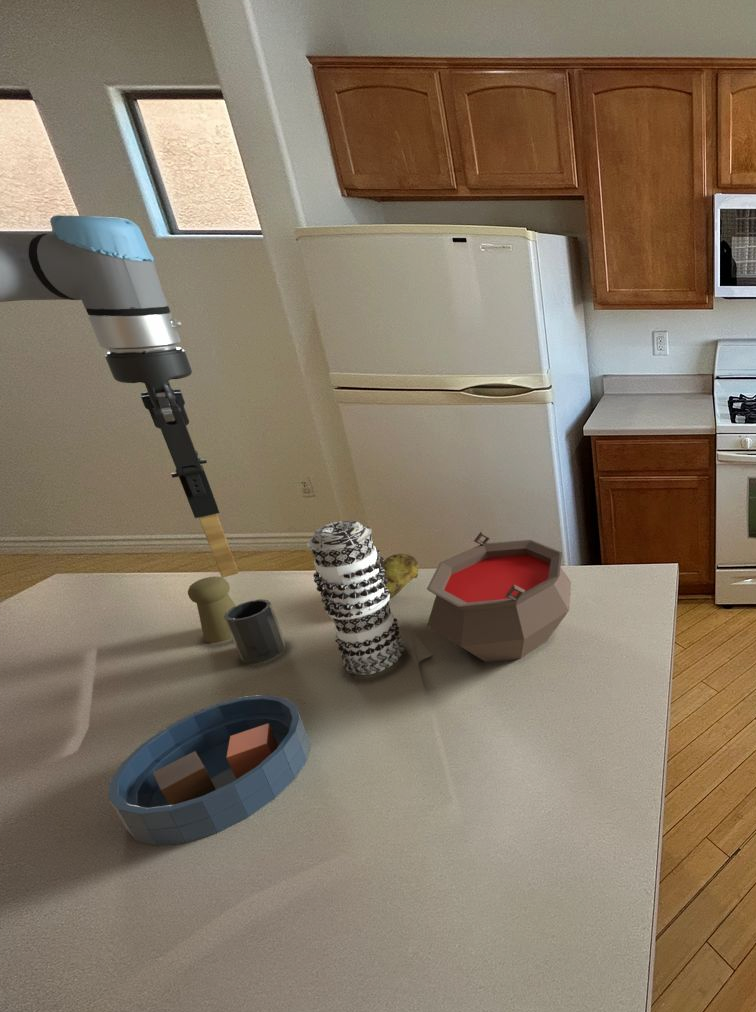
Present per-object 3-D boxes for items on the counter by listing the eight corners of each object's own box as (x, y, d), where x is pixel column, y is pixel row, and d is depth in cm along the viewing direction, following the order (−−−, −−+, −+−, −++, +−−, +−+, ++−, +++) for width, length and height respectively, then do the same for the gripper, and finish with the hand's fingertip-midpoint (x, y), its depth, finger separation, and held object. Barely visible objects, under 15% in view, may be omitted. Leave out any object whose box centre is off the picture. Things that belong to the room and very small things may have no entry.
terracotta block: (240, 758, 72) (230, 735, 71) (278, 745, 74) (269, 722, 73) (236, 780, 69) (226, 757, 68) (276, 766, 71) (266, 743, 70)
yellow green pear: (345, 604, 106) (334, 568, 103) (414, 578, 115) (406, 544, 112) (360, 622, 101) (350, 584, 98) (432, 592, 110) (424, 557, 107)
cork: (204, 650, 93) (180, 595, 89) (204, 633, 97) (181, 579, 93) (250, 635, 97) (229, 582, 92) (248, 619, 101) (227, 567, 97)
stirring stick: (220, 573, 85) (173, 450, 77) (237, 568, 86) (192, 447, 78) (222, 578, 84) (173, 453, 76) (238, 573, 85) (193, 450, 77)
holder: (240, 654, 92) (222, 609, 89) (283, 638, 96) (268, 595, 93) (244, 671, 88) (225, 625, 85) (289, 654, 92) (273, 610, 89)
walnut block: (164, 796, 67) (151, 772, 66) (206, 773, 70) (195, 750, 69) (173, 814, 65) (160, 790, 63) (216, 790, 68) (205, 766, 66)
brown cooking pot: (599, 648, 95) (592, 566, 89) (449, 705, 82) (428, 614, 76) (553, 585, 113) (544, 513, 107) (424, 624, 101) (405, 545, 94)
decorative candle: (413, 640, 96) (380, 511, 86) (401, 676, 88) (364, 537, 78) (353, 650, 94) (313, 517, 84) (336, 687, 85) (289, 546, 76)
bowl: (131, 779, 70) (111, 744, 68) (298, 708, 81) (286, 676, 79) (128, 884, 59) (105, 846, 56) (324, 784, 70) (311, 749, 68)
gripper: (186, 352, 69) (245, 521, 78) (179, 339, 79) (233, 490, 88) (100, 358, 64) (174, 537, 74) (104, 344, 74) (169, 503, 83)
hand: (206, 511), depth 81 cm, fingers closed on stirring stick, 2 cm apart
